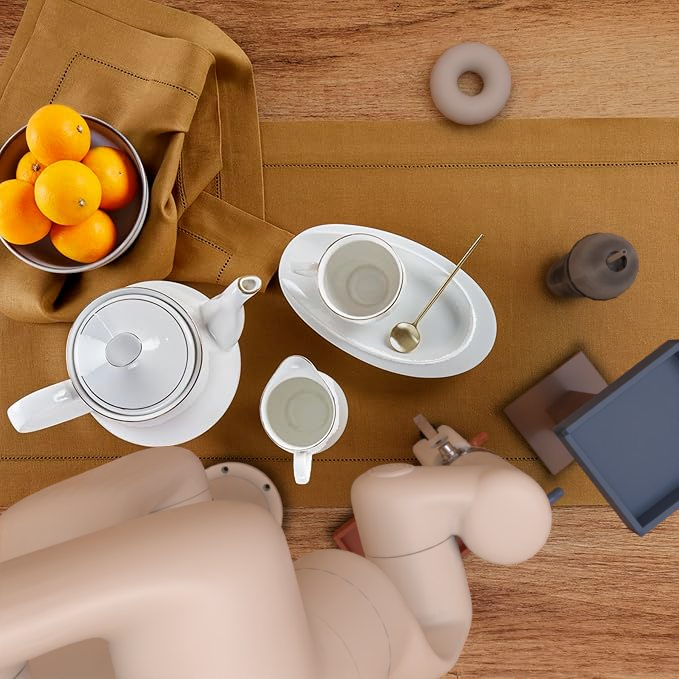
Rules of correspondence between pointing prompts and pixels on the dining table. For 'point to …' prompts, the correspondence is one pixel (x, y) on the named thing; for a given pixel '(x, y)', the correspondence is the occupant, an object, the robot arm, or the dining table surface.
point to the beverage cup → (595, 268)
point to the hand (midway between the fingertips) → (446, 458)
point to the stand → (554, 408)
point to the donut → (474, 60)
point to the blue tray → (632, 440)
